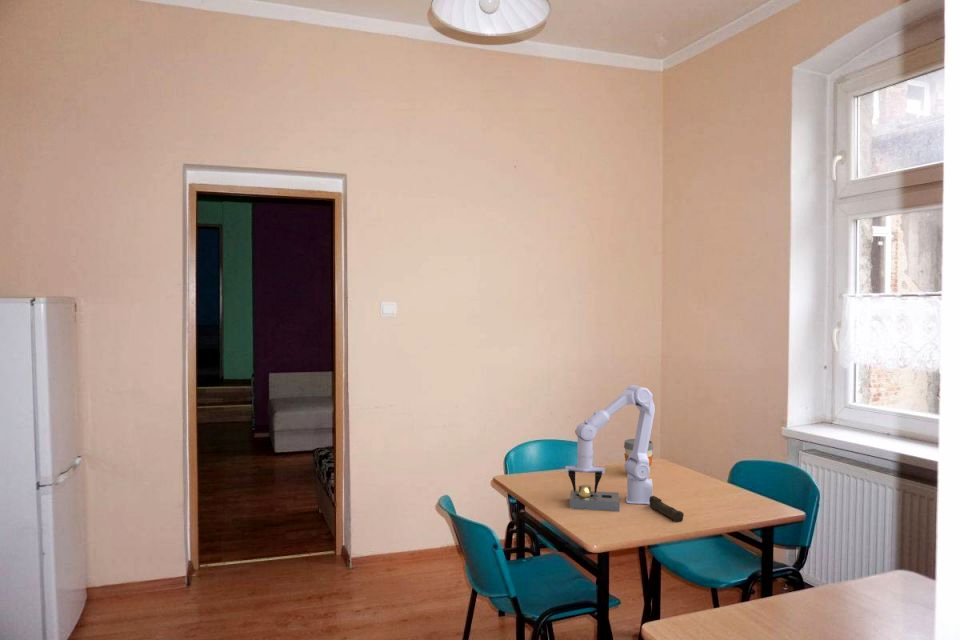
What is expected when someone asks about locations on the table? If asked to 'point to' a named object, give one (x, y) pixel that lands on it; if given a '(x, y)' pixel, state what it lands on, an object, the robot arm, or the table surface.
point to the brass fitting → (584, 491)
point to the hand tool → (665, 509)
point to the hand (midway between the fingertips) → (585, 491)
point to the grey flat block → (595, 501)
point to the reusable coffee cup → (629, 448)
